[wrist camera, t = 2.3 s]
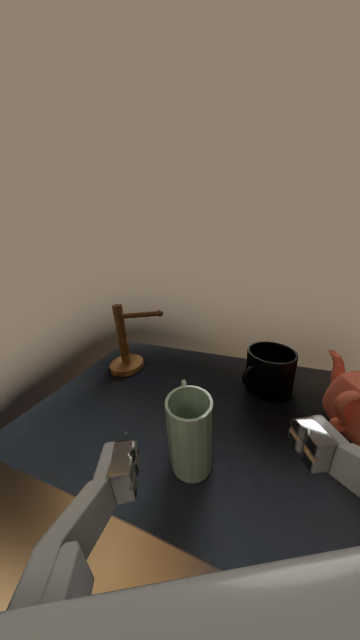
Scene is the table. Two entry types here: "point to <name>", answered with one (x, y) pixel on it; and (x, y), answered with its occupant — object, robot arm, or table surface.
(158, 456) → the table surface
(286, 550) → the table surface
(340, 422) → the teapot
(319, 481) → the table surface
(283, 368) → the mug
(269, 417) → the table surface
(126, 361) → the mug stand
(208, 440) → the cup
